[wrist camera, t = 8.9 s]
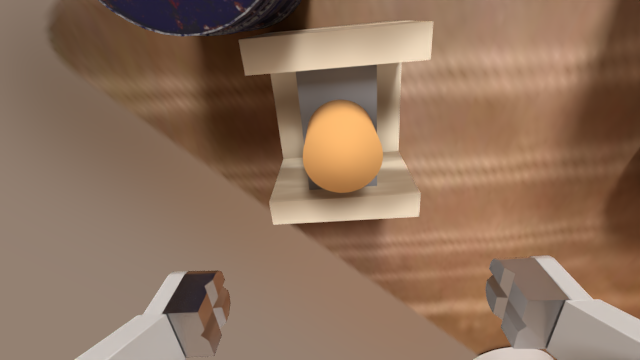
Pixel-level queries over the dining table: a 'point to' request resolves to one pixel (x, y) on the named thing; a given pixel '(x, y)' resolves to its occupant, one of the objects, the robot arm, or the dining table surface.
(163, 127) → the dining table surface
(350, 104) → the brown egg
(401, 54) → the wooden napkin holder
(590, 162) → the dining table surface
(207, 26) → the storage jar
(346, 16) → the dining table surface
